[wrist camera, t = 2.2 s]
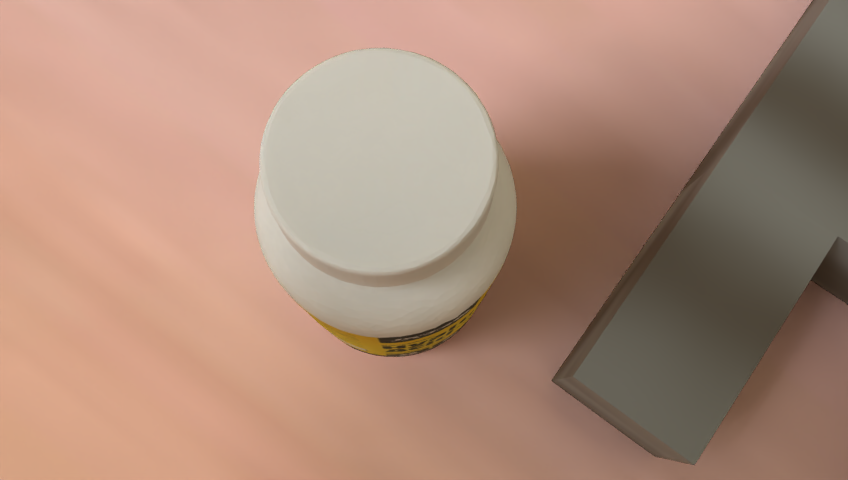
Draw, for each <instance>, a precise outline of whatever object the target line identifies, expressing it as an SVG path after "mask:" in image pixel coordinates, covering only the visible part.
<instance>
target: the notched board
mask: <svg viewBox="0 0 848 480" xmlns="http://www.w3.org/2000/svg"><path fill="white" fill-rule="evenodd" d="M810 280H812V281H814V282H815V283H817V284H818V285H820V286H821V287H823V288H824V289H826V290H827V291H829V292H830V293H832V294H833V295H835V296H836V297H838V298H839V299H841V300H842V301H844V302H845V303H847V304H848V0H813V1H812V2H811V4H810V5H809V7H808V8H807V10H806V11H805V13H804V14H803V15H802V17H801V18H800V20H799V21H798V23H797V24H796V26H795V27H794V29H793V30H792V31H791V33H790V34H789V36H788V37H787V39H786V40H785V42H784V43H783V45H782V46H781V47H780V49H779V50H778V52H777V53H776V55H775V56H774V58H773V59H772V61H771V62H770V63H769V65H768V66H767V68H766V69H765V71H764V72H763V74H762V75H761V77H760V78H759V79H758V81H757V82H756V84H755V85H754V87H753V88H752V90H751V91H750V93H749V94H748V95H747V97H746V98H745V100H744V101H743V103H742V104H741V106H740V107H739V109H738V110H737V111H736V113H735V114H734V116H733V117H732V119H731V120H730V122H729V123H728V125H727V126H726V127H725V129H724V130H723V132H722V133H721V135H720V136H719V138H718V139H717V141H716V142H715V143H714V145H713V146H712V148H711V149H710V151H709V152H708V154H707V155H706V157H705V158H704V159H703V161H702V162H701V164H700V165H699V167H698V168H697V170H696V171H695V173H694V174H693V175H692V177H691V178H690V180H689V181H688V183H687V184H686V186H685V187H684V189H683V190H682V191H681V193H680V194H679V196H678V197H677V199H676V200H675V202H674V203H673V205H672V206H671V207H670V209H669V210H668V212H667V213H666V215H665V216H664V218H663V219H662V221H661V222H660V223H659V225H658V226H657V228H656V229H655V231H654V232H653V234H652V235H651V237H650V238H649V239H648V241H647V242H646V244H645V245H644V247H643V248H642V250H641V251H640V253H639V254H638V255H637V257H636V258H635V260H634V261H633V263H632V264H631V266H630V267H629V269H628V270H627V271H626V273H625V274H624V276H623V277H622V279H621V280H620V282H619V283H618V285H617V286H616V287H615V289H614V290H613V292H612V293H611V295H610V296H609V298H608V299H607V301H606V302H605V303H604V305H603V306H602V308H601V309H600V311H599V312H598V314H597V315H596V317H595V318H594V319H593V321H592V322H591V324H590V325H589V327H588V328H587V330H586V331H585V333H584V334H583V335H582V337H581V338H580V340H579V341H578V343H577V344H576V346H575V347H574V349H573V350H572V351H571V353H570V354H569V356H568V357H567V359H566V360H565V362H564V363H563V365H562V366H561V367H560V369H559V370H558V372H557V373H556V375H555V376H554V378H553V379H552V381H553V382H554V383H555V384H557V385H558V386H559V387H561V388H562V389H564V390H565V391H566V392H568V393H569V394H570V395H572V396H573V397H574V398H576V399H577V400H579V401H580V402H581V403H583V404H584V405H585V406H587V407H588V408H589V409H591V410H592V411H594V412H595V413H596V414H598V415H599V416H600V417H602V418H603V419H604V420H606V421H607V422H609V423H610V424H611V425H613V426H614V427H615V428H617V429H618V430H620V431H621V432H622V433H624V434H625V435H626V436H628V437H629V438H630V439H632V440H633V441H635V442H636V443H637V444H639V445H640V446H641V447H643V448H644V449H645V450H647V451H648V452H650V453H651V454H652V455H654V456H655V457H660V458H664V459H669V460H673V461H678V462H683V463H687V464H692V465H695V464H696V462H697V460H698V459H699V457H700V456H701V454H702V452H703V451H704V449H705V448H706V446H707V444H708V443H709V441H710V440H711V438H712V437H713V435H714V433H715V432H716V430H717V429H718V427H719V425H720V424H721V422H722V421H723V419H724V417H725V416H726V414H727V413H728V411H729V409H730V408H731V406H732V405H733V403H734V401H735V400H736V398H737V397H738V395H739V393H740V392H741V390H742V389H743V387H744V385H745V384H746V382H747V381H748V379H749V377H750V376H751V374H752V373H753V371H754V369H755V368H756V366H757V365H758V363H759V361H760V360H761V358H762V357H763V355H764V353H765V352H766V350H767V349H768V347H769V345H770V344H771V342H772V341H773V339H774V338H775V336H776V334H777V333H778V331H779V330H780V328H781V326H782V325H783V323H784V322H785V320H786V318H787V317H788V315H789V314H790V312H791V310H792V309H793V307H794V306H795V304H796V302H797V301H798V299H799V298H800V296H801V294H802V293H803V291H804V290H805V288H806V286H807V285H808V283H809V282H810Z"/></svg>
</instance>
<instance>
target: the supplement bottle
mask: <svg viewBox="0 0 848 480" xmlns="http://www.w3.org/2000/svg"><path fill="white" fill-rule="evenodd" d="M516 212H517V202H516V191H515V184H514V180H513V176H512V172H511V168H510V165H509V163H508V161H507V158H506V156H505V154H504V152H503V149H502V147H501V146H500V144H499V143H498V141H497V139H496V135H495V131H494V128H493V125H492V122H491V119H490V117H489V115H488V113H487V111H486V109H485V107H484V106H483V104H482V103H481V101H480V99H479V98H478V96H477V95H476V93H475V92H474V91H473V90H472V89H471V88H470V86H469V85H468V84H467V83H466V82H465V81H464V80H462V79H461V78H460V77H459V76H458V75H457V74H455V73H454V72H453V71H451V70H450V69H449V68H447V67H446V66H444V65H442V64H441V63H439V62H437V61H435V60H433V59H431V58H428V57H426V56H423V55H420V54H417V53H414V52H409V51H404V50H398V49H391V48H369V49H361V50H354V51H350V52H346V53H343V54H340V55H338V56H335V57H332V58H330V59H328V60H326V61H324V62H322V63H320V64H318V65H316V66H315V67H313V68H312V69H310V70H309V71H307V72H306V73H305V74H303V75H302V76H301V77H300V78H299V79H297V80H296V81H295V82H294V83H293V84H292V85H291V86H290V87H289V88H288V89H287V91H286V92H285V93H284V94H283V96H282V97H281V98H280V100H279V101H278V103H277V104H276V106H275V108H274V109H273V112H272V114H271V116H270V118H269V120H268V122H267V125H266V128H265V131H264V134H263V138H262V142H261V149H260V172H259V176H258V180H257V184H256V190H255V198H254V216H255V225H256V232H257V236H258V240H259V243H260V247H261V250H262V252H263V255H264V257H265V259H266V262H267V264H268V266H269V267H270V269H271V271H272V273H273V274H274V276H275V277H276V279H277V280H278V282H279V283H280V285H281V286H282V287H283V288H284V289H285V290H286V292H287V293H288V294H289V295H290V296H291V297H292V298H293V299H294V300H295V301H296V302H297V304H298V305H299V306H301V307H302V308H303V309H304V310H305V311H306V312H308V313H309V314H310V315H311V316H312V317H313V318H314V319H315V320H316V321H317V322H318V323H319V324H320V325H322V326H323V327H324V328H325V329H327V330H328V331H329V332H330V333H331V334H333V335H334V336H335V337H337V338H338V339H340V340H341V341H342V342H344V343H346V344H347V345H349V346H351V347H352V348H354V349H357V350H359V351H362V352H365V353H368V354H372V355H377V356H386V357H401V356H409V355H414V354H418V353H421V352H424V351H427V350H430V349H432V348H434V347H436V346H438V345H440V344H442V343H443V342H445V341H446V340H448V339H449V338H451V337H452V336H453V335H454V334H456V333H457V332H458V331H459V330H460V329H461V328H462V327H463V326H464V325H465V324H466V322H467V321H468V320H469V319H470V318H471V316H472V314H473V313H474V312H475V310H476V309H477V307H478V306H479V304H480V303H481V301H482V300H483V298H484V297H485V295H486V293H487V291H488V290H489V288H490V287H491V285H492V283H493V282H494V280H495V279H496V277H497V275H498V274H499V272H500V270H501V268H502V266H503V264H504V262H505V259H506V257H507V254H508V252H509V249H510V246H511V243H512V240H513V235H514V230H515V224H516Z"/></svg>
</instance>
